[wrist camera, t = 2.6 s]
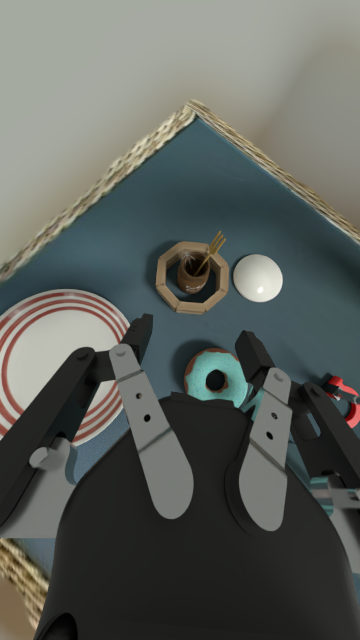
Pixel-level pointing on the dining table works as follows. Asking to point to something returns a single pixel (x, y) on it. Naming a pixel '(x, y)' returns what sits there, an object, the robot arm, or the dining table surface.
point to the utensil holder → (196, 268)
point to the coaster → (257, 278)
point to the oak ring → (215, 264)
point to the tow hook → (338, 391)
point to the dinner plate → (56, 352)
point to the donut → (210, 361)
